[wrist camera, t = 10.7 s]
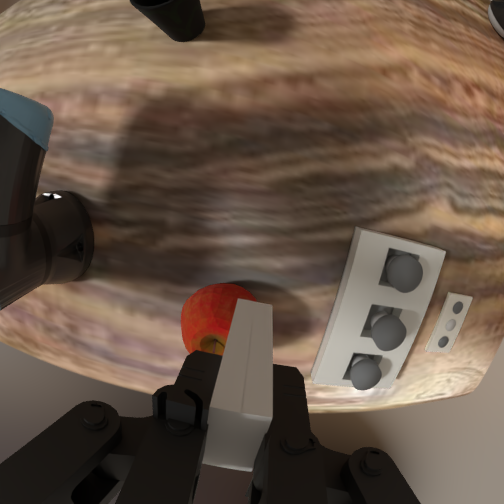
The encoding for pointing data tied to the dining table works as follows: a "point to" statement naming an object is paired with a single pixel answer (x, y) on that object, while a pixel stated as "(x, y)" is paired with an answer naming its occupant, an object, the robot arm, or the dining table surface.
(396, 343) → the button
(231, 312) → the apple
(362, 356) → the button
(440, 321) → the pattern card
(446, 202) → the dining table surface
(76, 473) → the robot arm
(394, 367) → the board
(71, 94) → the dining table surface
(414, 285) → the button
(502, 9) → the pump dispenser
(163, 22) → the cup
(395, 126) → the dining table surface
